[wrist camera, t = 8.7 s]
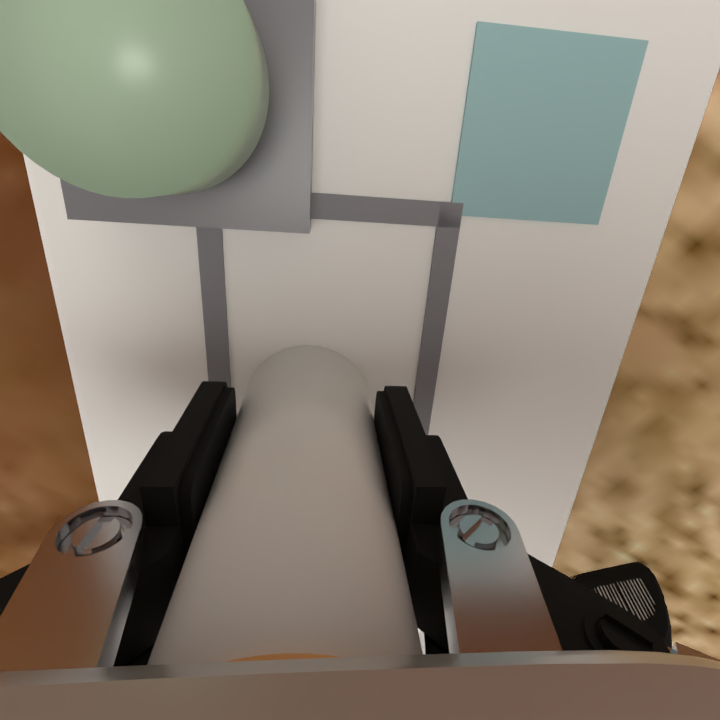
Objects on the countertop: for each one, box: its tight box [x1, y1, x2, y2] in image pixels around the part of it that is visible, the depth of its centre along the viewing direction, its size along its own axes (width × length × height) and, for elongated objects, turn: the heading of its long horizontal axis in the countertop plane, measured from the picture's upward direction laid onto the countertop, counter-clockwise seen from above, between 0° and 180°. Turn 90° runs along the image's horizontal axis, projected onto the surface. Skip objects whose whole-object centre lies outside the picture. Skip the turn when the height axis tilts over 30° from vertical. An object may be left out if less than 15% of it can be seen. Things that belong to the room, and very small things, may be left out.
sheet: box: [23, 0, 720, 637], centre depth 13 cm, size 16×22×1 cm
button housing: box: [60, 0, 316, 234], centre depth 9 cm, size 5×5×2 cm
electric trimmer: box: [575, 563, 672, 648], centre depth 20 cm, size 4×15×3 cm, turn 11°
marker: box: [147, 346, 423, 665], centre depth 8 cm, size 4×4×10 cm
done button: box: [0, 0, 269, 198], centre depth 6 cm, size 4×4×2 cm
